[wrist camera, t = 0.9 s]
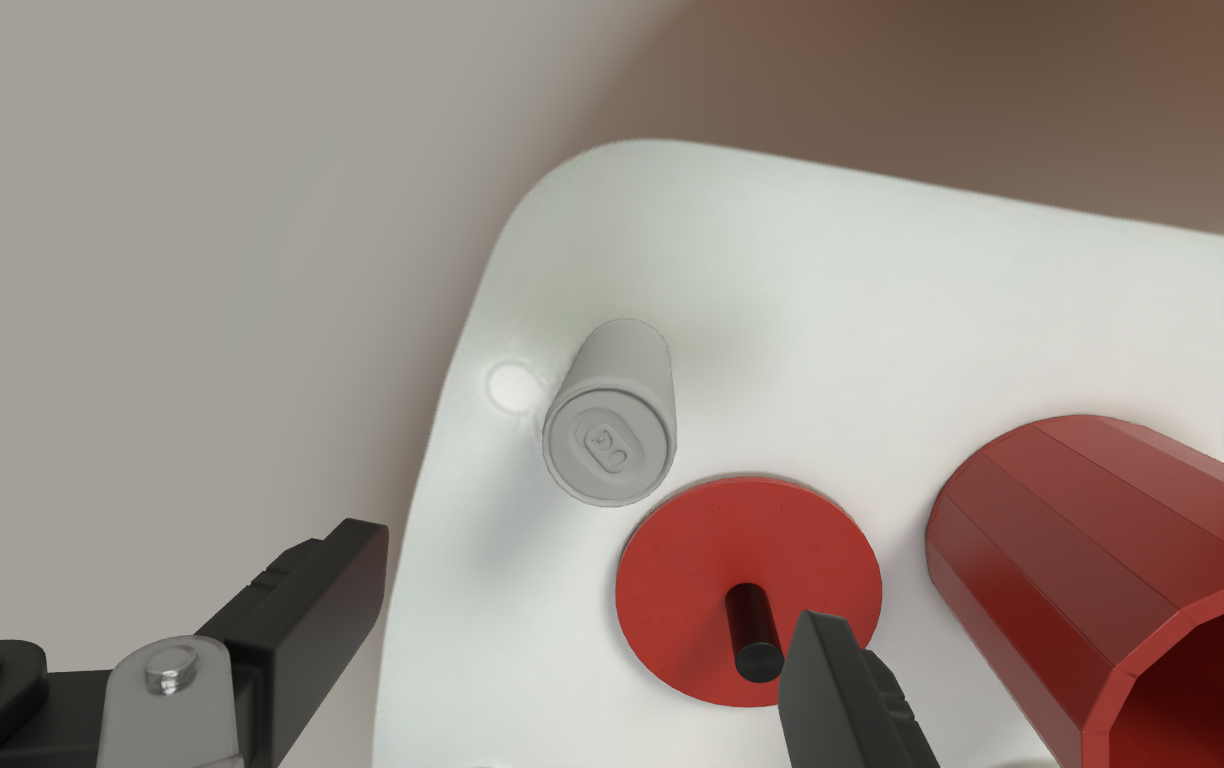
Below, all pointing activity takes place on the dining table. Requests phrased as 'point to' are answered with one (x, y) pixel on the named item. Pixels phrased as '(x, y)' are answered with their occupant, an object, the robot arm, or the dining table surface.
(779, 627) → the lid
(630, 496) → the beverage can
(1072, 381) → the dining table surface
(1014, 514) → the pot
